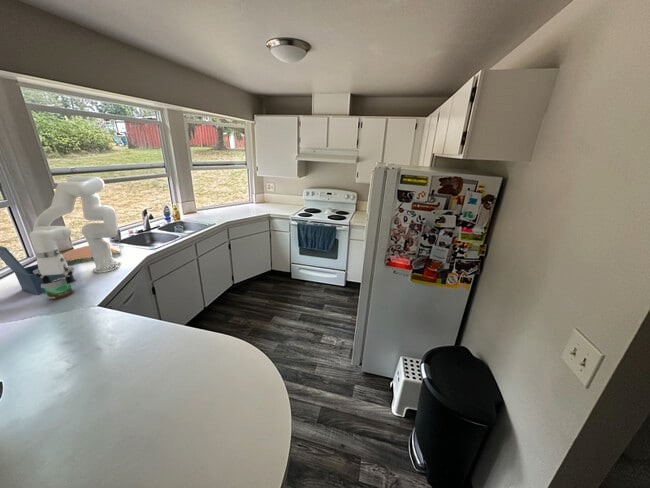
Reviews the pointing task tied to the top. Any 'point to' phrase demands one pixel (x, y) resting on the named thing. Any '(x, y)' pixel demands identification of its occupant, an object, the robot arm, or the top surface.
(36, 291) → the blue bin
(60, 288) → the food container
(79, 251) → the tan flat block
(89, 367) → the top surface
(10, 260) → the freezer lid
